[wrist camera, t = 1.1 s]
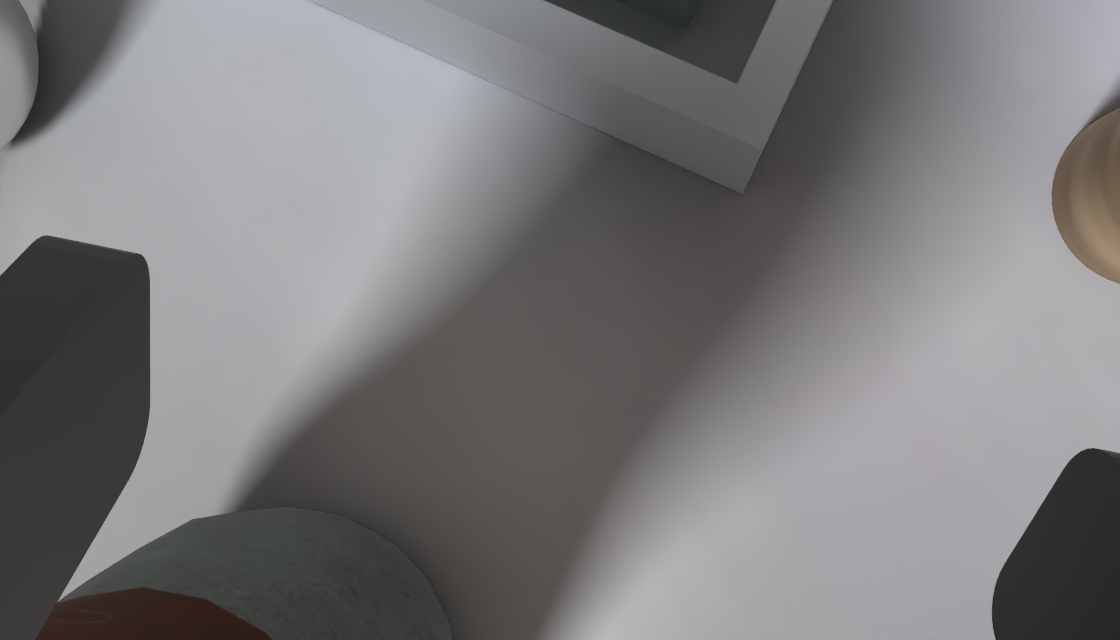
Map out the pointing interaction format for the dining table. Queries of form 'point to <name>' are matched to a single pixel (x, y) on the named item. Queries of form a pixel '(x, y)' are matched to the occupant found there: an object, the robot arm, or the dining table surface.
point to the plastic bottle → (16, 69)
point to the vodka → (257, 585)
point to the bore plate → (667, 10)
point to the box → (626, 66)
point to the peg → (1091, 196)
